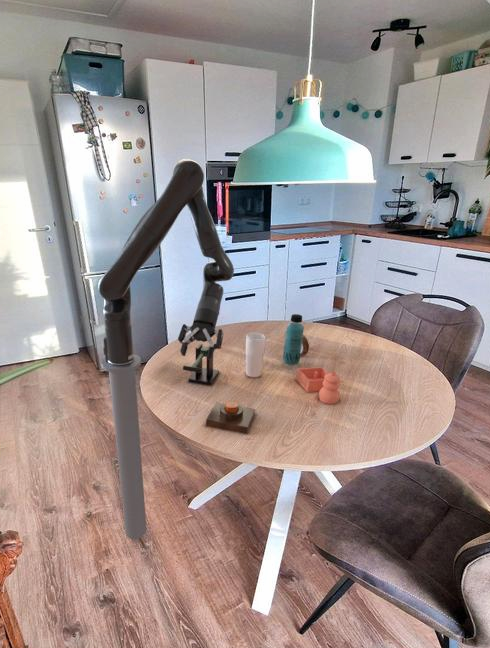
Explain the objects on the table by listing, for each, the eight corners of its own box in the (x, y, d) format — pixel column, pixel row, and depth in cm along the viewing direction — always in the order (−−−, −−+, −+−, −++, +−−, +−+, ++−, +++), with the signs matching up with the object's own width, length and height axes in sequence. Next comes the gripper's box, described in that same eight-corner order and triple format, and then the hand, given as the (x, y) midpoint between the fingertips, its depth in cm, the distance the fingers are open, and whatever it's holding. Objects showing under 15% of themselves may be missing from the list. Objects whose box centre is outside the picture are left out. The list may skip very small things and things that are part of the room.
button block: (206, 425, 110) (206, 414, 108) (216, 408, 118) (216, 396, 117) (247, 433, 107) (248, 421, 105) (254, 415, 116) (255, 403, 114)
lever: (200, 375, 122) (200, 368, 120) (182, 372, 123) (182, 365, 122) (214, 353, 133) (214, 347, 132) (197, 351, 135) (197, 345, 134)
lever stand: (210, 385, 131) (211, 354, 126) (188, 382, 133) (188, 350, 128) (219, 373, 140) (220, 343, 135) (198, 369, 142) (198, 340, 137)
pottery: (296, 379, 137) (299, 354, 133) (320, 377, 140) (324, 352, 135) (319, 405, 122) (324, 378, 117) (346, 402, 124) (351, 375, 120)
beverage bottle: (279, 362, 150) (284, 313, 142) (294, 360, 152) (299, 311, 144) (287, 369, 144) (293, 318, 136) (302, 367, 147) (309, 317, 138)
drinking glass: (257, 369, 144) (260, 331, 137) (265, 377, 138) (269, 338, 132) (240, 371, 142) (243, 333, 135) (248, 380, 136) (251, 340, 129)
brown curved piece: (308, 357, 155) (310, 338, 151) (301, 358, 154) (304, 339, 150) (289, 344, 167) (291, 325, 164) (282, 344, 166) (284, 326, 163)
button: (223, 411, 110) (224, 406, 109) (227, 405, 113) (227, 400, 112) (236, 414, 109) (236, 408, 108) (239, 407, 112) (239, 402, 112)
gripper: (184, 304, 127) (171, 349, 122) (226, 309, 124) (214, 356, 119) (190, 315, 134) (178, 358, 129) (229, 320, 131) (218, 364, 126)
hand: (195, 357), depth 124 cm, fingers open, 8 cm apart
